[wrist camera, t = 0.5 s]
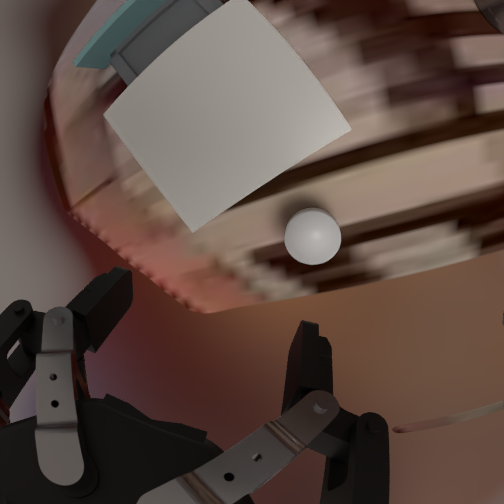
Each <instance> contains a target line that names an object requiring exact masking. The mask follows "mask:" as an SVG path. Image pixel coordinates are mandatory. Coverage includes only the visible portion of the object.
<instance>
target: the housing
mask: <svg viewBox="0 0 504 504" xmlns="http://www.w3.org/2000/svg"><path fill="white" fill-rule="evenodd" d="M104 117H105V118H106V119H107V121H108V122H109V123H110V125H111V126H112V128H113V129H114V130H115V132H116V133H117V135H118V136H119V137H120V139H121V140H122V141H123V143H124V144H125V145H126V147H127V148H128V149H129V151H130V152H131V153H132V155H133V156H134V157H135V159H136V160H137V162H138V163H139V164H140V165H141V167H142V168H143V169H144V171H145V172H146V173H147V175H148V176H149V177H150V179H151V180H152V181H153V183H154V184H155V185H156V187H157V188H158V189H159V190H160V192H161V193H162V194H163V196H164V197H165V198H166V200H167V201H168V202H169V203H170V205H171V206H172V207H173V209H174V210H175V211H176V212H177V214H178V215H179V216H180V217H181V219H182V220H183V221H184V223H185V224H186V225H187V226H188V228H189V229H190V230H191V231H192V233H193V232H195V231H196V230H198V229H199V228H200V227H202V226H203V225H205V224H206V223H208V222H209V221H210V220H212V219H213V218H215V217H216V216H218V215H219V214H220V213H222V212H223V211H225V210H226V209H228V208H229V207H231V206H232V205H234V204H235V203H237V202H238V201H240V200H241V199H242V198H244V197H245V196H247V195H248V194H250V193H251V192H253V191H254V190H256V189H257V188H259V187H261V186H262V185H264V184H265V183H267V182H268V181H270V180H271V179H273V178H274V177H276V176H277V175H279V174H280V173H282V172H284V171H285V170H287V169H288V168H290V167H291V166H293V165H295V164H296V163H298V162H299V161H301V160H303V159H304V158H306V157H307V156H309V155H311V154H312V153H314V152H315V151H317V150H319V149H320V148H322V147H324V146H325V145H327V144H328V143H330V142H332V141H333V140H335V139H337V138H338V137H340V136H342V135H343V134H345V133H347V132H349V131H350V130H352V129H351V127H350V126H349V124H348V123H347V121H346V120H345V118H344V117H343V115H342V114H341V112H340V111H339V109H338V108H337V106H336V105H335V103H334V102H333V101H332V99H331V98H330V96H329V95H328V93H327V92H326V91H325V89H324V88H323V87H322V85H321V84H320V83H319V81H318V80H317V79H316V77H315V76H314V75H313V73H312V72H311V71H310V69H309V68H308V67H307V66H306V64H305V63H304V62H303V61H302V59H301V58H300V57H299V56H298V54H297V53H296V52H295V51H294V50H293V48H292V47H291V46H290V45H289V44H288V43H287V41H286V40H285V39H284V38H283V37H282V36H281V35H280V34H279V32H278V31H277V30H276V29H275V28H274V27H273V26H272V25H271V24H270V23H269V22H268V20H267V19H266V18H265V17H264V16H263V15H262V14H261V13H260V12H259V11H258V10H257V9H256V8H255V7H254V6H253V5H252V4H251V3H250V2H249V1H248V0H230V1H228V2H227V3H225V4H224V5H222V6H221V7H220V8H218V9H217V10H215V11H214V12H212V13H211V14H210V15H208V16H207V17H206V18H204V19H203V20H202V21H200V22H199V23H198V24H196V25H195V26H194V27H192V28H191V29H190V30H189V31H187V32H186V33H185V34H184V35H183V36H181V37H180V38H179V39H178V40H177V41H175V42H174V43H173V44H172V45H171V46H170V47H168V48H167V49H166V50H165V51H164V52H163V53H162V54H161V55H160V56H158V57H157V58H156V59H155V60H154V61H153V62H152V63H151V64H150V65H149V66H148V67H147V68H146V69H145V70H144V71H143V72H142V73H141V74H140V75H139V76H138V77H137V78H136V79H135V80H134V81H133V82H132V83H131V84H130V85H129V86H128V87H127V88H126V89H125V90H124V92H123V93H122V94H121V95H120V96H119V97H118V98H117V99H116V100H115V102H114V103H113V104H112V105H111V106H110V107H109V109H108V110H107V111H106V112H105V113H104Z"/></svg>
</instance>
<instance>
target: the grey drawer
mask: <svg viewBox="0 0 504 504" xmlns="http://www.w3.org/2000/svg"><path fill="white" fill-rule="evenodd" d="M222 5H224V4H223V3H222V2H221V1H220V0H127V1H126V2H125V3H124V4H123V5H122V6H121V7H120V8H119V9H118V10H117V11H116V12H115V13H114V14H113V15H112V16H111V17H110V18H109V19H108V20H107V21H106V22H105V24H104V25H103V26H102V27H101V28H100V29H99V30H98V31H97V32H96V34H95V35H94V36H93V37H92V38H91V39H90V41H89V42H88V43H87V44H86V45H85V47H84V48H83V49H82V50H81V52H80V53H79V54H78V56H77V57H76V58H75V59H74V61H73V64H74V65H75V67H86V68H100V69H106V68H107V67H108V66H109V65H110V63H111V65H112V66H113V67H114V68H115V70H116V71H117V72H118V74H119V75H120V76H121V78H122V79H123V80H124V81H125V83H126V84H127V85H128V86H129V85H130V84H131V83H132V82H133V81H134V80H135V79H136V78H137V77H138V76H139V75H140V74H141V73H142V72H143V71H144V70H145V69H146V68H147V67H148V66H149V65H150V64H151V63H152V62H153V61H154V60H155V59H156V58H157V57H158V56H160V55H161V54H162V53H163V52H164V51H165V50H166V49H167V48H168V47H170V46H171V45H172V44H173V43H174V42H175V41H177V40H178V39H179V38H180V37H181V36H183V35H184V34H185V33H186V32H187V31H189V30H190V29H191V28H192V27H194V26H195V25H196V24H198V23H199V22H200V21H202V20H203V19H204V18H206V17H207V16H208V15H210V14H211V13H212V12H214V11H215V10H217V9H218V8H220V7H221V6H222Z"/></svg>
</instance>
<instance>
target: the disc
mask: <svg viewBox="0 0 504 504" xmlns="http://www.w3.org/2000/svg"><path fill="white" fill-rule="evenodd" d="M340 243H341V233H340V229H339V226H338V223H337V221H336V219H335V218H334V217H333V216H332V215H331V214H330V213H329V212H327V211H325V210H323V209H320V208H305V209H302V210H300V211H298V212H296V213H295V214H294V215H293V216H292V217H291V218H290V220H289V221H288V223H287V226H286V231H285V245H286V248H287V250H288V252H289V253H290V254H291V256H292V257H293V258H295V259H296V260H298V261H300V262H302V263H305V264H321V263H324V262H326V261H328V260H329V259H331V258H332V257H333V256H334V255H335V254H336V253H337V251H338V249H339V247H340Z"/></svg>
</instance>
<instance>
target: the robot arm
mask: <svg viewBox="0 0 504 504" xmlns="http://www.w3.org/2000/svg"><path fill="white" fill-rule="evenodd" d="M475 2H476V4H477V6H478V7H479V9H480V11H481V12H482V14H483V15H484V16H485V18H486V19H487V20H488V21H489V22H490V23H491V24H492V25H493V26H494V27H495V28H496V29H497V30H499V31H500V32H502V33H504V0H475ZM132 300H133V284H132V272H131V271H130V270H128V269H125V268H122V267H119V266H115V267H114V268H113V269H112V270H111V271H110V272H109V273H108V274H107V273H104V274H101V275H99V276H97V277H95V278H94V279H93V280H92V281H91V282H90V283H89V285H87V286H86V287H85V288H84V290H82V291H81V292H80V293H79V294H78V295H77V296H76V297H75V298H74V299H73V300H72V301H71V302H70V303H69V304H68V305H67V306H66V307H55V308H53V309H50V310H49V311H48V312H47V313H43V312H38V311H33V309H32V306H31V304H30V302H29V301H26V300H17V301H14V302H13V303H11V304H10V305H9V306H8V307H7V308H6V309H5V310H4V311H3V312H2V313H1V315H0V504H255V503H254V502H253V500H252V498H251V497H250V494H251V493H253V492H254V491H255V490H257V489H258V488H259V487H261V486H262V485H263V484H264V483H266V482H267V481H268V480H269V479H271V478H272V477H273V476H274V475H275V474H277V473H278V472H279V471H280V470H282V469H283V468H284V467H285V466H286V465H287V464H288V463H290V462H291V461H292V460H293V459H294V458H295V457H297V456H298V455H299V454H300V453H301V452H302V451H303V450H304V449H305V448H306V447H307V448H310V449H312V450H314V451H316V452H319V453H321V454H323V455H325V456H326V463H325V471H324V478H323V486H322V493H321V498H320V504H389V479H390V478H389V476H390V474H389V473H390V468H389V467H390V466H389V436H388V435H389V434H388V425H387V423H386V421H385V419H384V418H383V417H381V416H380V415H379V414H376V413H372V412H368V413H364V414H362V415H361V416H360V417H359V416H357V415H354V414H352V413H350V412H348V411H346V410H344V409H342V408H341V407H340V406H339V403H338V401H337V399H336V398H335V397H334V396H333V372H332V358H331V357H332V348H331V345H330V343H329V341H328V339H327V338H326V337H321V336H319V325H318V324H317V323H312V322H308V321H304V320H302V321H301V322H300V325H299V327H298V329H297V332H296V334H295V336H294V339H293V342H292V343H291V346H290V350H289V354H288V362H287V370H286V379H285V387H284V395H283V403H282V410H281V417H279V418H278V419H277V420H275V421H274V422H272V421H270V422H268V423H266V424H265V425H263V426H262V427H261V428H259V429H258V430H256V431H255V432H254V433H252V434H251V435H249V436H248V437H247V438H245V439H244V440H242V441H241V442H239V443H238V444H236V445H235V446H234V447H232V448H230V449H228V450H227V451H226V452H224V451H223V450H222V449H221V448H220V447H218V446H217V445H216V444H215V443H213V442H212V441H210V440H208V439H207V438H206V435H207V432H206V431H203V430H200V429H196V428H193V427H190V426H187V425H183V424H180V423H172V422H164V421H158V420H152V419H150V418H148V417H147V416H146V415H144V414H143V413H141V412H140V411H139V410H137V409H136V408H135V407H133V406H132V405H130V404H129V403H127V402H124V401H122V400H120V399H118V398H116V397H113V396H111V395H109V394H106V396H105V397H104V399H99V398H91V396H90V393H89V389H88V381H87V374H86V365H85V356H84V353H85V352H86V350H89V351H91V352H93V353H96V351H97V350H98V349H99V348H100V346H101V345H102V343H103V342H104V341H105V339H106V338H107V337H108V335H109V334H110V333H111V331H112V330H113V329H114V327H115V326H116V325H117V324H118V322H119V321H120V320H121V318H122V317H123V316H124V314H125V313H126V312H127V311H128V309H129V308H130V306H131V304H132ZM17 340H18V341H19V343H20V344H19V345H18V346H17V348H16V349H15V350H14V352H13V353H12V354H11V355H10V357H9V358H8V359H7V354H8V352H9V350H10V349H11V348H12V346H13V345H14V344H15V343H16V342H17ZM35 369H36V411H37V415H36V416H33V417H29V418H26V419H23V420H20V421H17V422H14V423H10V419H9V417H10V411H9V409H10V407H11V406H12V404H13V402H14V401H15V399H16V398H17V396H18V395H19V393H20V392H21V390H22V388H23V387H24V386H25V384H26V382H27V381H28V380H29V378H30V377H31V375H32V374H33V372H34V371H35Z"/></svg>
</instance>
